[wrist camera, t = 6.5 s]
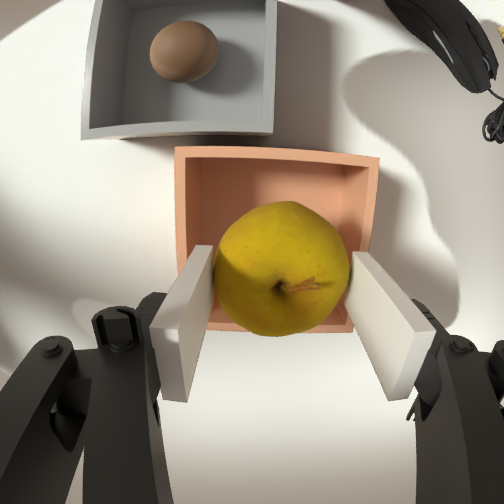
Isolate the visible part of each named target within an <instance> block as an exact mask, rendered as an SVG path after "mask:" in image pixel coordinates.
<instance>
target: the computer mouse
mask: <svg viewBox="0 0 504 504" xmlns="http://www.w3.org/2000/svg"><path fill="white" fill-rule="evenodd" d="M385 1H386V3H387V5H388V7H389V8H390V9H391V11H392V12H393V13H394V15H395V16H396V17H397V18H398V19H399V21H400V22H401V23H402V24H403V25H404V26H405V27H406V28H407V29H408V30H409V31H410V32H411V33H412V34H413V35H415V36H416V37H417V38H418V39H420V40H421V41H422V42H424V43H425V44H426V45H427V46H429V47H430V48H431V49H432V50H433V51H434V52H435V54H436V55H437V56H438V57H439V58H440V59H441V60H442V61H443V62H444V63H445V65H446V66H447V67H448V68H449V70H450V71H451V73H452V74H453V76H454V77H455V78H456V79H457V81H458V82H459V83H460V84H461V85H462V86H463V87H465V88H466V89H467V90H469V91H470V92H472V93H479V92H480V93H482V92H484V91H486V90H488V91H489V92H490V93H491V94H492V95H494V96H495V97H496V98H498V99H500V100H502V101H504V98H502V97H500V96H498V95H496V94H495V93H494V92H493V91H492V90H491V89H490V88H491V84H490V79H492V78H494V80H496V75H497V69H498V66H499V64H498V61H497V59H496V56H495V53H494V51H493V49H492V47H491V44H490V42H489V40H488V38H487V36H486V34H485V32H484V31H483V29H482V27H481V26H480V24H479V23H478V21H477V20H476V19H475V17H474V16H473V15H472V14H471V12H470V11H469V10H468V9H467V8H466V7H465V6H464V5H463V4H462V3H461V2H460V1H459V0H385ZM497 29H498V31H499V33H500V35H501V37H502V42H503V44H504V26H502V27H499V28H497ZM493 121H494V122H493ZM486 125H488V127H487V131H488V133H489V134H490V138H491V139H489V138H487V136H486V132H485V127H486ZM482 132H483V137H484V138H485V140H486V141H488V142H493V141H495V140H496V142H497V143H499V144H501V143H503V142H504V102H503V103H502V104H501V105H500V106H499V107H498V108H497V109H496V110H494V111H493V112H492V113H490V114H489V115H488V116H487V117H486V119H485V121H484V124H483V128H482Z"/></svg>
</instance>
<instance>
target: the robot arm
mask: <svg viewBox="0 0 504 504" xmlns="http://www.w3.org/2000/svg"><path fill="white" fill-rule="evenodd" d="M213 301H214V288H213V246H211V245H196V246H195V248H194V249H193V251H192V253H191V254H190V256H189V258H188V260H187V261H186V263H185V265H184V266H183V268H182V270H181V271H180V273H179V275H178V277H177V278H176V280H175V282H174V284H173V285H172V287H171V289H170V291H169V292H168V293H157V292H153V293H151V294H149V295H148V296H146V297H145V298H143V300H142V301H141V303H140V304H139V305H138V307H137V308H136V310H135V309H134V308H130V307H127V306H115V307H109V308H106V309H104V310H101V311H99V312H98V313H96V314H95V315H94V317H93V318H92V320H91V321H92V325H93V329H94V333H95V337H96V340H97V344H98V348H97V349H87V350H74V348H73V345H72V342H71V341H70V340H69V339H68V338H66V337H63V336H50V337H46V338H44V339H42V340H40V341H39V342H38V343H36V344H35V345H34V346H33V348H32V349H31V350H30V352H29V353H28V354H27V355H26V357H25V358H24V359H23V361H22V362H21V363H20V365H19V366H18V367H17V369H16V370H15V371H14V373H13V374H12V376H11V377H10V378H9V380H8V381H7V382H6V384H5V385H4V387H3V388H2V390H1V391H0V504H65V502H66V499H67V496H68V493H69V489H70V486H71V483H72V480H73V477H74V474H75V471H76V468H77V465H78V463H79V460H80V457H81V454H82V451H83V449H84V464H83V504H174V502H173V498H172V493H171V487H170V482H169V477H168V471H167V465H166V459H165V452H164V445H163V438H162V431H161V423H160V414H159V407H158V402H157V399H156V398H157V396H158V393H159V390H160V388H161V393H162V397H163V400H170V401H177V402H186V403H187V401H188V397H189V393H190V389H191V385H192V381H193V377H194V373H195V369H196V365H197V362H198V358H199V354H200V350H201V346H202V342H203V338H204V335H205V331H206V327H207V324H208V320H209V316H210V312H211V309H212V305H213ZM344 306H345V308H346V310H347V312H348V314H349V316H350V318H351V320H352V322H353V324H354V326H355V328H356V331H357V333H358V335H359V337H360V339H361V341H362V343H363V346H364V348H365V350H366V352H367V354H368V356H369V359H370V361H371V363H372V365H373V368H374V370H375V372H376V374H377V377H378V379H379V381H380V383H381V386H382V388H383V390H384V393H385V395H386V397H387V400H388V401H394V400H401V399H407V398H408V397H409V395H410V393H411V391H412V389H413V386H415V387H416V389H417V391H418V395H417V397H416V399H415V401H414V403H413V405H412V407H411V409H410V411H409V413H408V415H407V418H406V420H408V421H409V420H410V418H411V416H412V414H413V413H415V418H414V420H413V421H415V425H416V426H415V427H416V455H417V482H416V504H504V407H503V406H502V405H501V404H500V402H501V400H502V399H503V397H504V340H500V341H497V343H496V344H495V346H494V348H493V350H492V352H491V353H488V352H479V351H478V350H477V348H476V346H475V345H474V343H472V342H471V341H470V340H469V339H467V338H464V337H462V336H458V335H450V334H449V333H448V332H447V331H446V330H445V329H444V327H443V326H442V325H441V324H440V323H439V321H438V320H437V319H435V317H434V316H433V315H432V313H430V311H429V310H428V309H427V308H426V307H425V305H423V304H422V303H420V302H419V301H417V300H415V299H410V298H409V297H408V296H407V295H406V294H405V293H404V291H403V290H402V289H401V288H400V287H399V286H398V285H397V283H396V282H395V281H394V280H393V279H392V278H391V277H390V276H389V275H388V273H387V272H386V271H385V270H384V269H383V268H382V267H381V266H380V265H379V264H378V262H377V261H376V260H375V259H374V258H373V257H372V256H371V255H370V254H369V253H368V252H356V251H353V252H352V259H351V265H350V274H349V280H348V284H347V289H346V295H345V300H344Z"/></svg>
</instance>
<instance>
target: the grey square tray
mask: <svg viewBox="0 0 504 504" xmlns="http://www.w3.org/2000/svg"><path fill="white" fill-rule="evenodd" d="M179 21H195V22H198V23H201V24H203V25H205V26H206V27H208V28H209V29H210V30H211V31H212V32H213V33H214V35H215V36H216V38H217V41H218V46H219V54H218V58H217V61H216V63H215V65H214V67H213V68H212V69H211V71H210V72H209V73H208V74H206V75H205V76H204V77H202V78H200V79H198V80H196V81H193V82H189V83H174V82H170V81H168V80H166V79H164V78H162V77H161V76H160V75H159V74H158V73H157V72H156V71H155V70H154V68H153V66H152V64H151V61H150V48H151V44H152V42H153V40H154V38H155V37H156V35H157V34H158V33H159V32H160V31H161V30H162V29H163V28H165V27H166V26H168V25H170V24H172V23H175V22H179ZM276 31H277V0H95V5H94V10H93V15H92V20H91V26H90V32H89V38H88V45H87V52H86V60H85V70H84V80H83V93H82V112H81V140H99V139H126V138H139V137H155V136H178V135H251V136H270V135H271V134H272V133H273V123H274V97H275V67H276Z"/></svg>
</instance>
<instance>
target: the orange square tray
mask: <svg viewBox="0 0 504 504" xmlns="http://www.w3.org/2000/svg"><path fill="white" fill-rule="evenodd" d="M379 160H380V158H376V157H369V156H362V155H354V154H346V153H336V152H326V151H315V150H303V149H289V148H271V147H246V146H178V147H175V157H174V181H175V228H176V251H177V270H178V275H179V273H180V271H181V270H182V268H183V266H184V265H185V263H186V261H187V260H188V258H189V256H190V254H191V253H192V251H193V249H194V248H195V246H196V245H211V246H213V267H214V259H215V254H216V251H217V248H218V246H219V243H220V241H221V239H222V237H223V235H224V234H225V232H226V231H227V230H228V228H229V227H230V226H231V225H232V224H233V223H235V222H236V221H237V220H238V219H240V218H241V217H242V216H243V215H244V214H246V213H248V212H249V211H251V210H252V209H255V208H257V207H259V206H262V205H266V204H269V203H274V202H280V201H295V202H297V203H300V204H302V205H304V206H306V207H307V208H309V209H311V210H313V211H314V212H316V213H317V214H319V215H320V216H321V217H323V218H324V219H325V220H327V221H328V222H329V223H330V224H331V225H332V226H333V227H334V228H335V229H336V231H337V232H338V233H339V235H340V237H341V239H342V241H343V244H344V246H345V249H346V252H347V256H348V260H349V264H350V265H351V259H352V252H353V251H356V252H369V246H370V239H371V233H372V225H373V218H374V210H375V202H376V193H377V183H378V172H379ZM213 288H214V281H213ZM346 289H347V286H346V288H345V290H344V292H343V294H342V296H341V297H340V299H339V301H338V303H337V304H336V306H335V307H334V309H333V310H332V312H331V313H330V314H329V316H328V317H327V318H326V319H325V320H324V321H323V322H322V323H320V324H319V325H317V326H316V327H314V328H312V329H310V330H307V331H304V332H301V333H350V332H353V328H354V324H353V322H352V320H351V318H350V316H349V314H348V312H347V310H346V308H345V306H344V300H345V295H346ZM206 330H220V331H240V332H250V331H248V330H246V329H244V328H243V327H241V326H239V325H238V324H236V323H235V322H234V321H232V320H231V319H230V318H229V317H228V315H227V314H226V313H225V312H224V311H223V309H222V307H221V305H220V303H219V301H218V298H217V295H216V292H215V288H214V301H213V305H212V309H211V312H210V316H209V320H208V324H207V327H206Z"/></svg>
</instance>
